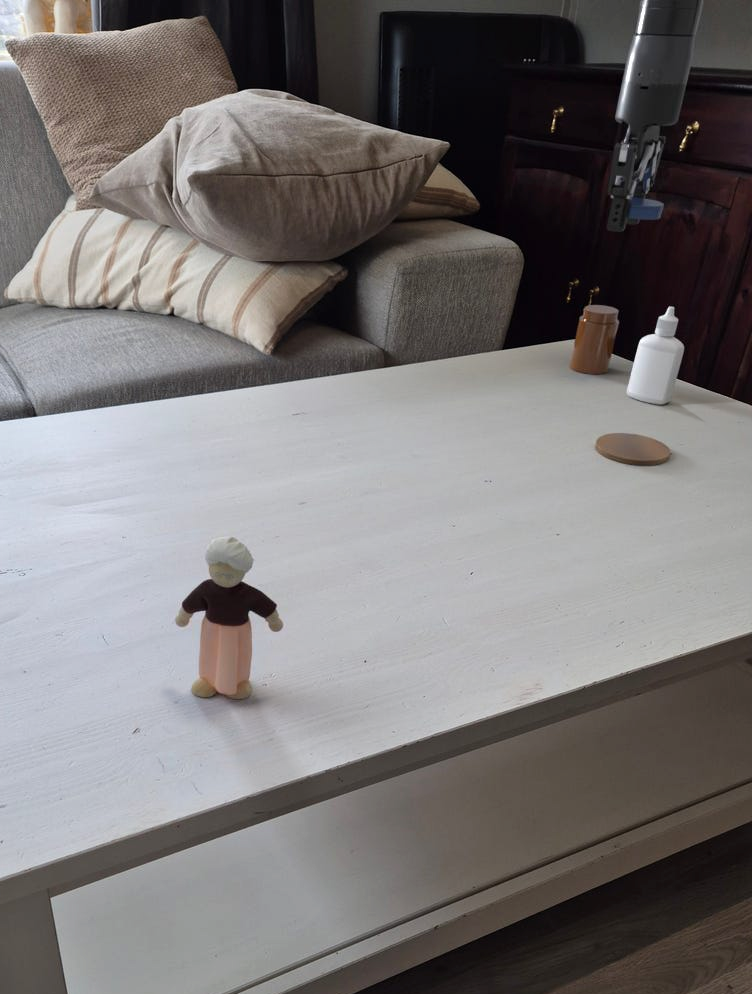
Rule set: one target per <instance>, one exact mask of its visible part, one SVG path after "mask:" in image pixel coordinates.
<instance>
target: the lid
mask: <svg viewBox="0 0 752 994" xmlns="http://www.w3.org/2000/svg"><path fill="white" fill-rule="evenodd" d="M630 201H631V204H630V208H629V212H628V218H634V219H640V220H644V221H646V220H647V221H653V220H659V219H660V218H662V217H661V216H662V212H663V210H664V206H665V204H664V202H661V201H659V200H654V199H650V198H645V199H643V198H632V199H631V200H630Z"/></svg>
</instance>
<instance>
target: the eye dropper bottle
mask: <svg viewBox="0 0 752 994" xmlns="http://www.w3.org/2000/svg"><path fill="white" fill-rule="evenodd" d="M678 323H679V318H678V317H676V316H675V307H674V306H668V308H667V309H666V312H665V314H663V315H659V316H658V319H657V322H656V327H655V330H654V333H652V334H647V335H645V336H643V337H641V339H640V340H639V342H638V345H637V349H636V353H635V357H634V361H633V363H632V364H633V365H632V369H631V373H630V376H629V381H628V383H627V384H628V385H627V388H626V395H627V396H628V397H630V398H632V399H635V400H637V401H640V402H644V403H646V404H647V403H648V404H652V405H665V404H667V403H669V402H670V401H671V399H672V396H673V393H674V389H675V386H676V382H677V378H678V374H679V371H680V367H681V364H682V360H683V355H684V353H685V346H684V344H683V343H682V341H680V340H679V339H678V338H676V337H675V335H676V331H677V328H678Z"/></svg>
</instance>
